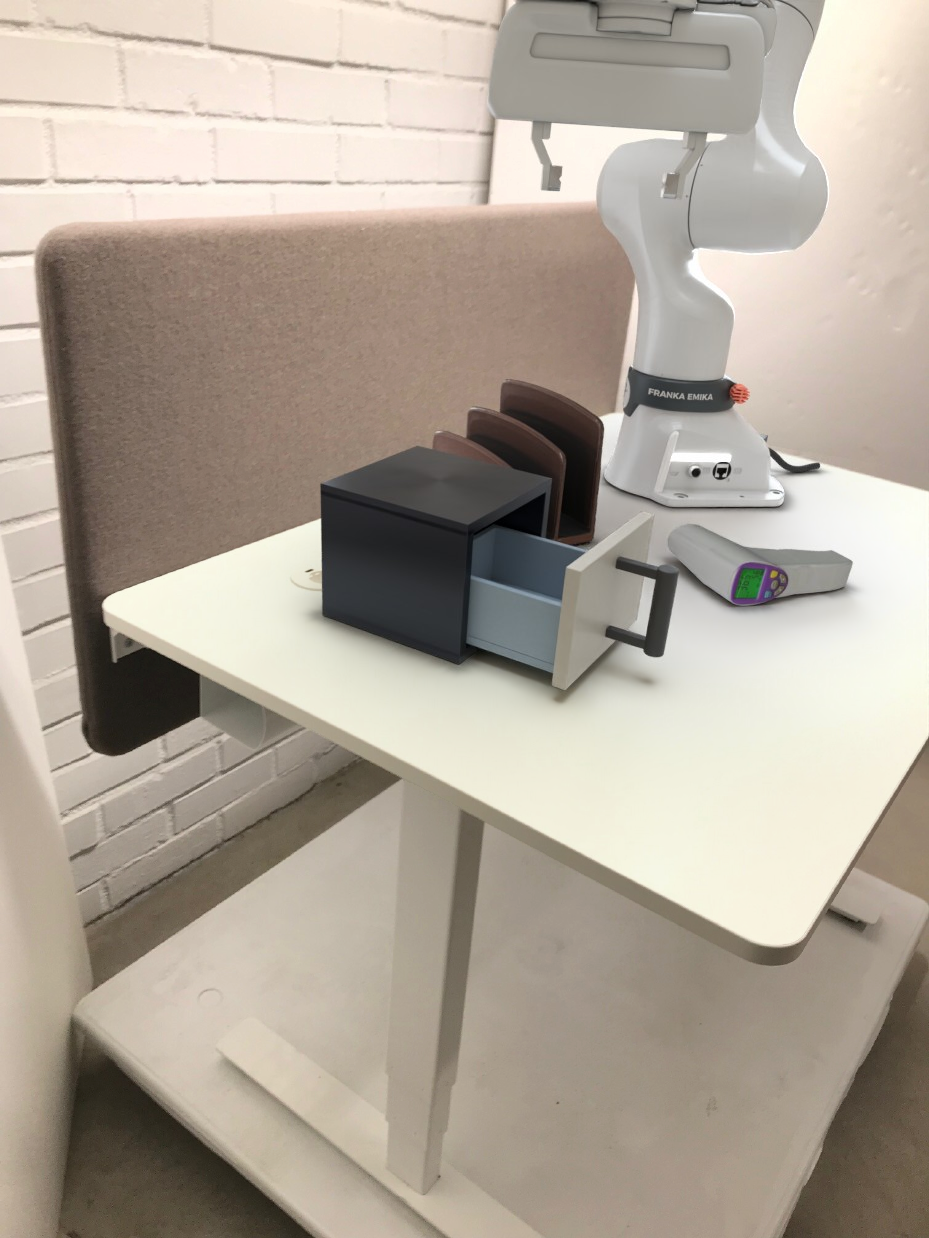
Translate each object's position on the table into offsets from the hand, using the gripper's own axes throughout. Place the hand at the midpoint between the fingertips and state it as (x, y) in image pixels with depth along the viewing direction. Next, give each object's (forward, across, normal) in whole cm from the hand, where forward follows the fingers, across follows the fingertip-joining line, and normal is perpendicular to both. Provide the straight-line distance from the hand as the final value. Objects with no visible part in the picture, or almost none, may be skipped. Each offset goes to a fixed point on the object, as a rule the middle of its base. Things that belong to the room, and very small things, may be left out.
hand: (610, 195), depth 70 cm
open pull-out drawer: (+33, +2, +12) cm, 35 cm away
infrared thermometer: (+34, -20, -6) cm, 40 cm away
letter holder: (+34, +5, -18) cm, 39 cm away
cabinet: (+34, +12, +6) cm, 37 cm away
